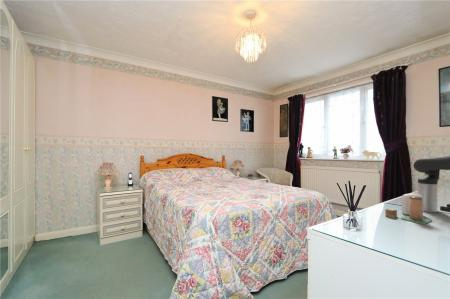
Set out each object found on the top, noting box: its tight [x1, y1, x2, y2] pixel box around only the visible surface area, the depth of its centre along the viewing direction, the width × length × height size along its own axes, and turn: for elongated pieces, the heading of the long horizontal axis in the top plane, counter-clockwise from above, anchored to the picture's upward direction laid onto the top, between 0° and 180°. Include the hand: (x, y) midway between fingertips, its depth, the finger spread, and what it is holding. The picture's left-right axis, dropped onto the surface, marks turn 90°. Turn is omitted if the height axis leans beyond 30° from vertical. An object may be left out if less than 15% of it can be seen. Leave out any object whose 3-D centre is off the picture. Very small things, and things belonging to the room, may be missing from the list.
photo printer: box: [401, 193, 422, 216], centre depth 131 cm, size 10×4×12 cm, turn 84°
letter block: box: [384, 208, 398, 219], centre depth 126 cm, size 4×4×4 cm
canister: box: [408, 196, 424, 221], centre depth 120 cm, size 6×6×12 cm
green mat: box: [400, 215, 433, 225], centre depth 119 cm, size 10×10×1 cm
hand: (443, 207), depth 110 cm, fingers open, 8 cm apart
